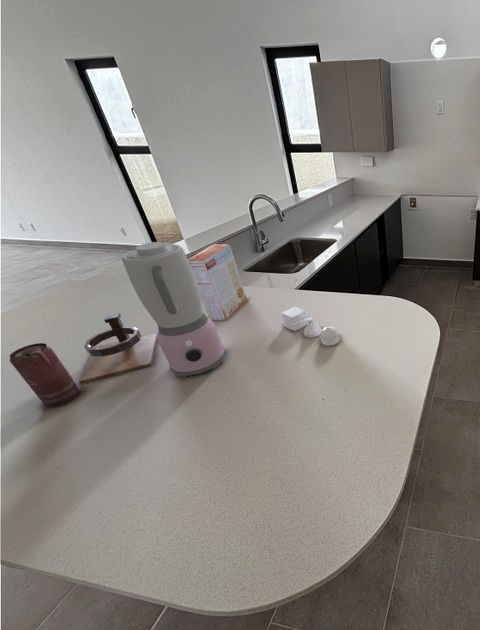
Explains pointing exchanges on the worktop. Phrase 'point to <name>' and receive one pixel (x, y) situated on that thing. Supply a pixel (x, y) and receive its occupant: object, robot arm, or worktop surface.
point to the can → (45, 374)
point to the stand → (118, 351)
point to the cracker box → (218, 281)
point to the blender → (175, 307)
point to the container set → (309, 326)
